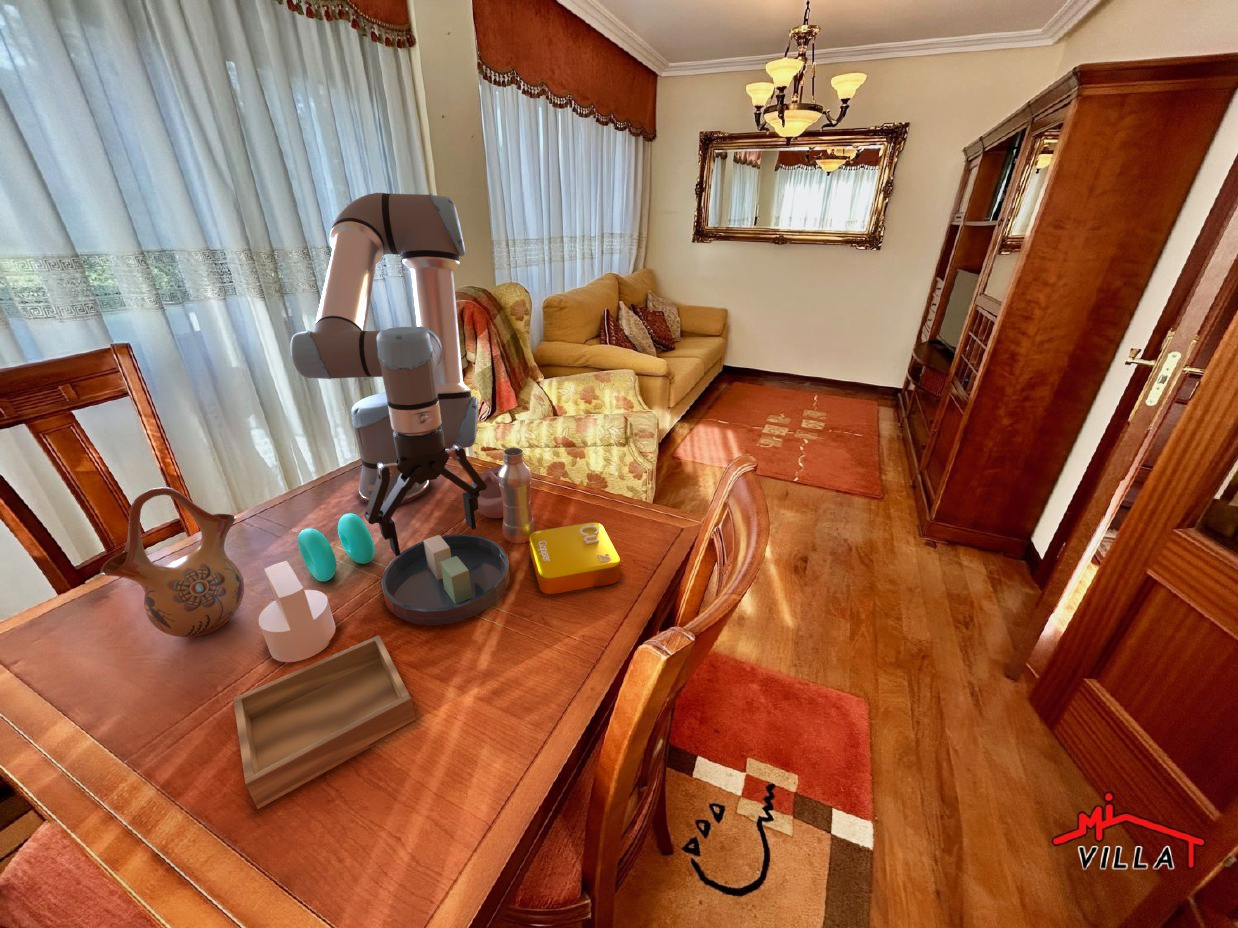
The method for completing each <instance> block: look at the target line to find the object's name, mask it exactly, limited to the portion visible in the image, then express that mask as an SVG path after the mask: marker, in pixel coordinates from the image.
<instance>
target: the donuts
mask: <svg viewBox="0 0 1238 928" xmlns="http://www.w3.org/2000/svg"><path fill="white" fill-rule="evenodd" d="M337 534H338V538H339V541H340V543H341V546H342V548H343V550H344V551H345V553H346V554H347V556H348V558H349V559H351V560H352V561H354V562H355V563H357V564H360V565H365V564H368V563H371V562H372V561H373V560H374V558H375V554H376V549H375V544H374V540H373V537H372V535H371V532H370V530H369V527H368V526H367V525H366V522H365V521H364V520H363V519H362V518H361V517H360V516H359V515H358V514H356V513H352V512H349V513H345V514H343V515H342V516H341V517H340V519H338V523H337ZM297 544H298V550H299V553H300V555H301V557H302V560H303V562H304V564H305V566H306V567H307V570H308V571H309V573H310V574H311V575H312V577H313V578H314V579H315V580H317V581H319V582H328V581H330V580H331V579H332V578H334V576H335V574H336V572H337V559H336V555H335V552H334V550H333V548H332V546H331V544H330V542H329V540H328V538H327V537H326V536H325V534H323V533H322V532H321V531H319V530H318V529H315V528H312V527H309V528H304V529H303V530H301V531H300V532H299V533H298V536H297Z"/></svg>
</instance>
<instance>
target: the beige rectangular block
mask: <svg viewBox="0 0 1238 928" xmlns="http://www.w3.org/2000/svg"><path fill="white" fill-rule="evenodd" d="M441 536H442V535H440V534H437V535H434V536H431V537H428V538H426V539H423V540H422V541H424V547H425V553H426V559H427V564H428V567H429V569H430V570H431V571H432V573H433V574H434V575H435V577H436V578H437V580H439V579H442V578H443V577H442V571H441V565H440V562H441V561H444V560H447V559H449V558H451V552H450V547H449V546H448V545H447V543H446V542H445V541H444V540H443V539H442V537H441Z"/></svg>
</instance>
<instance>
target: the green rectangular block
mask: <svg viewBox="0 0 1238 928" xmlns="http://www.w3.org/2000/svg"><path fill="white" fill-rule="evenodd" d="M440 565H441V571H442V577H443V584H444V589H445V591H446V592H447V593H448V595H449V596H450V598H451V599H452V600H453V602H454V603H455V604H459V603H461V602H463V601H465V600H468V599H470V598H472V593H471V585H470V577H469V570H468V569H467V568H466V566H465V565H464V564H463V563H462V562H461V560H460V559H459V558H458V557H457V556H455V557H452V558H449V559H447V560H444V561H441V562H440Z"/></svg>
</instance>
